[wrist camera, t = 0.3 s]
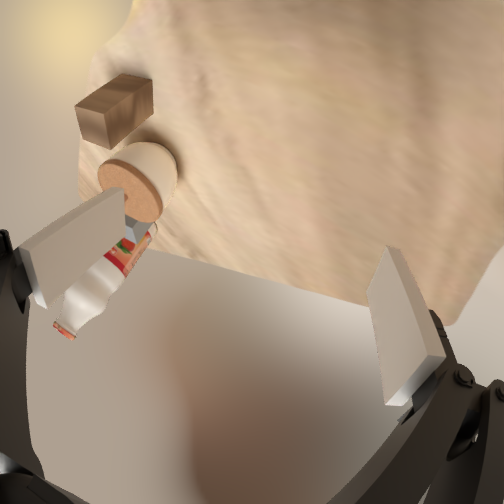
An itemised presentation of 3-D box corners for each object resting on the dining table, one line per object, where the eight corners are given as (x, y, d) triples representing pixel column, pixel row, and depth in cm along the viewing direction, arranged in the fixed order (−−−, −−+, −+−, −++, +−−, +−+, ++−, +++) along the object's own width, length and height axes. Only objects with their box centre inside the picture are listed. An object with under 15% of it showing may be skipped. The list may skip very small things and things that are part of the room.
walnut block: (122, 73, 27) (74, 105, 23) (152, 79, 27) (103, 114, 23) (125, 105, 31) (82, 139, 27) (153, 113, 31) (110, 150, 27)
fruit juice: (129, 224, 60) (59, 328, 46) (117, 197, 52) (34, 311, 38) (162, 239, 59) (90, 352, 45) (152, 211, 51) (66, 339, 37)
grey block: (137, 182, 45) (108, 215, 41) (160, 192, 45) (132, 228, 41) (140, 200, 49) (115, 232, 45) (162, 210, 49) (137, 244, 45)
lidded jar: (141, 178, 44) (106, 219, 39) (124, 125, 35) (78, 166, 30) (195, 193, 41) (160, 241, 36) (184, 134, 32) (136, 182, 27)
